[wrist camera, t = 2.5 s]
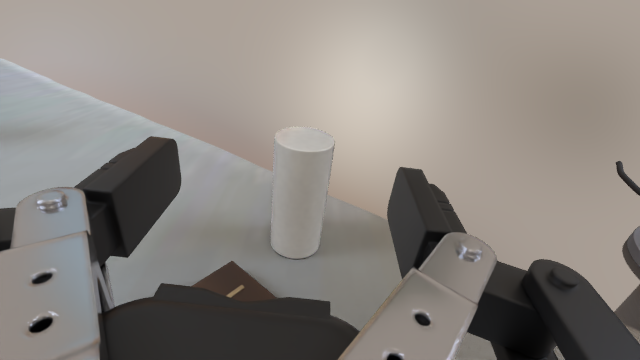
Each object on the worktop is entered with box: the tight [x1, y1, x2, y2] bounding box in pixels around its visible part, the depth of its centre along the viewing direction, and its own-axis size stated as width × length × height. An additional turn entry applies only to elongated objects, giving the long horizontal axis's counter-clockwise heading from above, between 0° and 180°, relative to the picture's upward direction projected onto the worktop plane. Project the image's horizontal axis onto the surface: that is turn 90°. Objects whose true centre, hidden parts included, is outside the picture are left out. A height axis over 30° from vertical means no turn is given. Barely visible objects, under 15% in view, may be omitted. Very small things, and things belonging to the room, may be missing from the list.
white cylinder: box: [270, 127, 335, 259], centre depth 26 cm, size 4×4×10 cm
